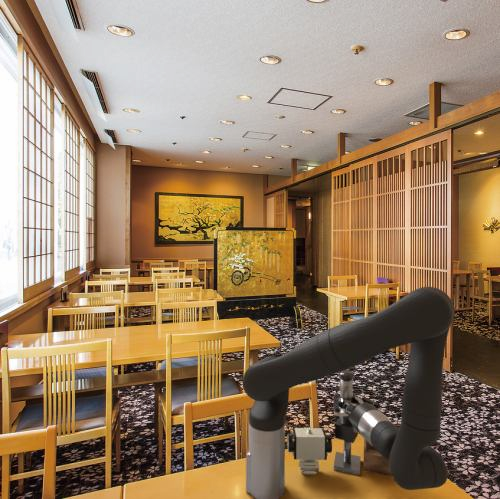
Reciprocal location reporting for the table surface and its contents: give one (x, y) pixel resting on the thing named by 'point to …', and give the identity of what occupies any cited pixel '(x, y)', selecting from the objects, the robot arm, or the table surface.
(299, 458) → the pneumatic rotary actuator
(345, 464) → the stud mount
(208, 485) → the table surface
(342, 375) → the strut
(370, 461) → the bin
